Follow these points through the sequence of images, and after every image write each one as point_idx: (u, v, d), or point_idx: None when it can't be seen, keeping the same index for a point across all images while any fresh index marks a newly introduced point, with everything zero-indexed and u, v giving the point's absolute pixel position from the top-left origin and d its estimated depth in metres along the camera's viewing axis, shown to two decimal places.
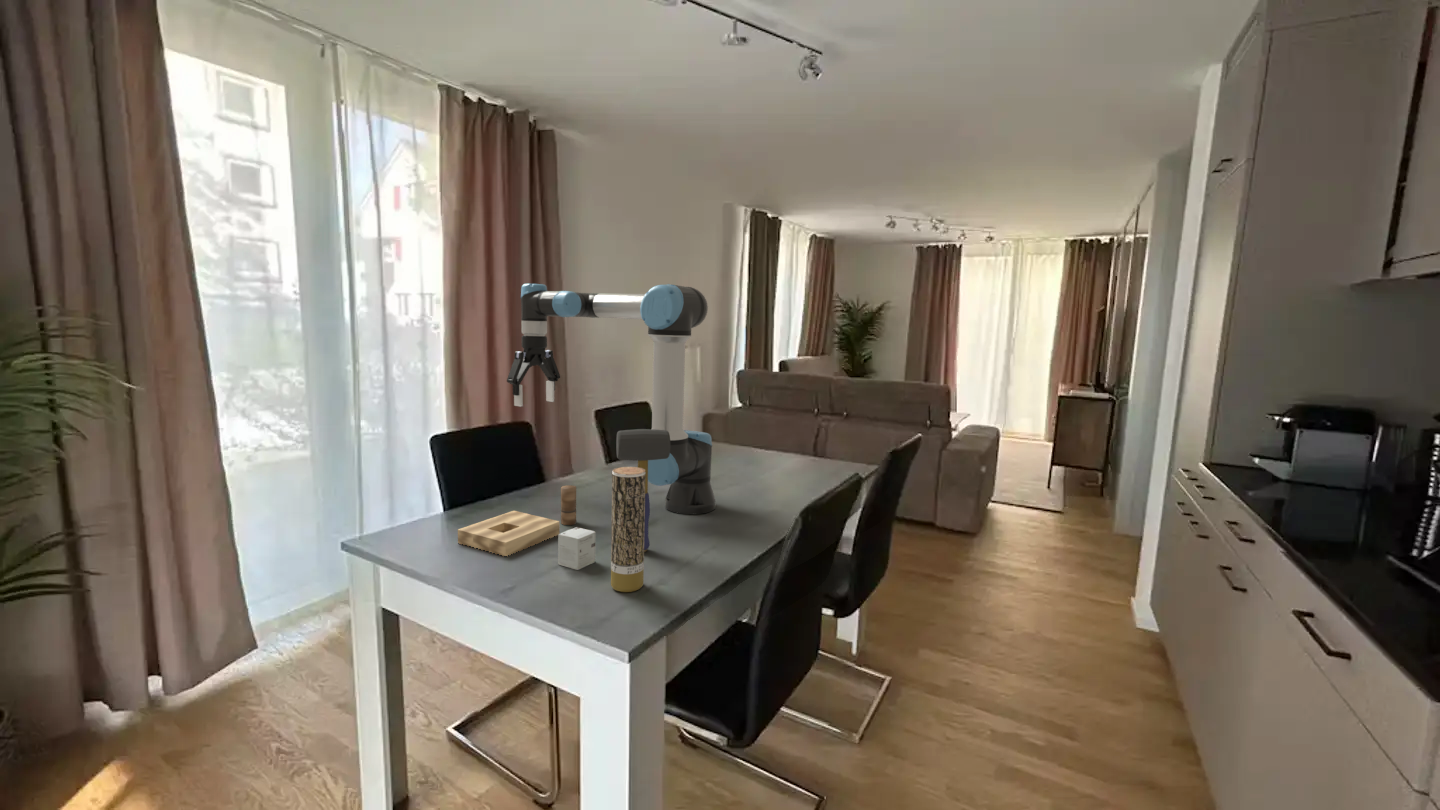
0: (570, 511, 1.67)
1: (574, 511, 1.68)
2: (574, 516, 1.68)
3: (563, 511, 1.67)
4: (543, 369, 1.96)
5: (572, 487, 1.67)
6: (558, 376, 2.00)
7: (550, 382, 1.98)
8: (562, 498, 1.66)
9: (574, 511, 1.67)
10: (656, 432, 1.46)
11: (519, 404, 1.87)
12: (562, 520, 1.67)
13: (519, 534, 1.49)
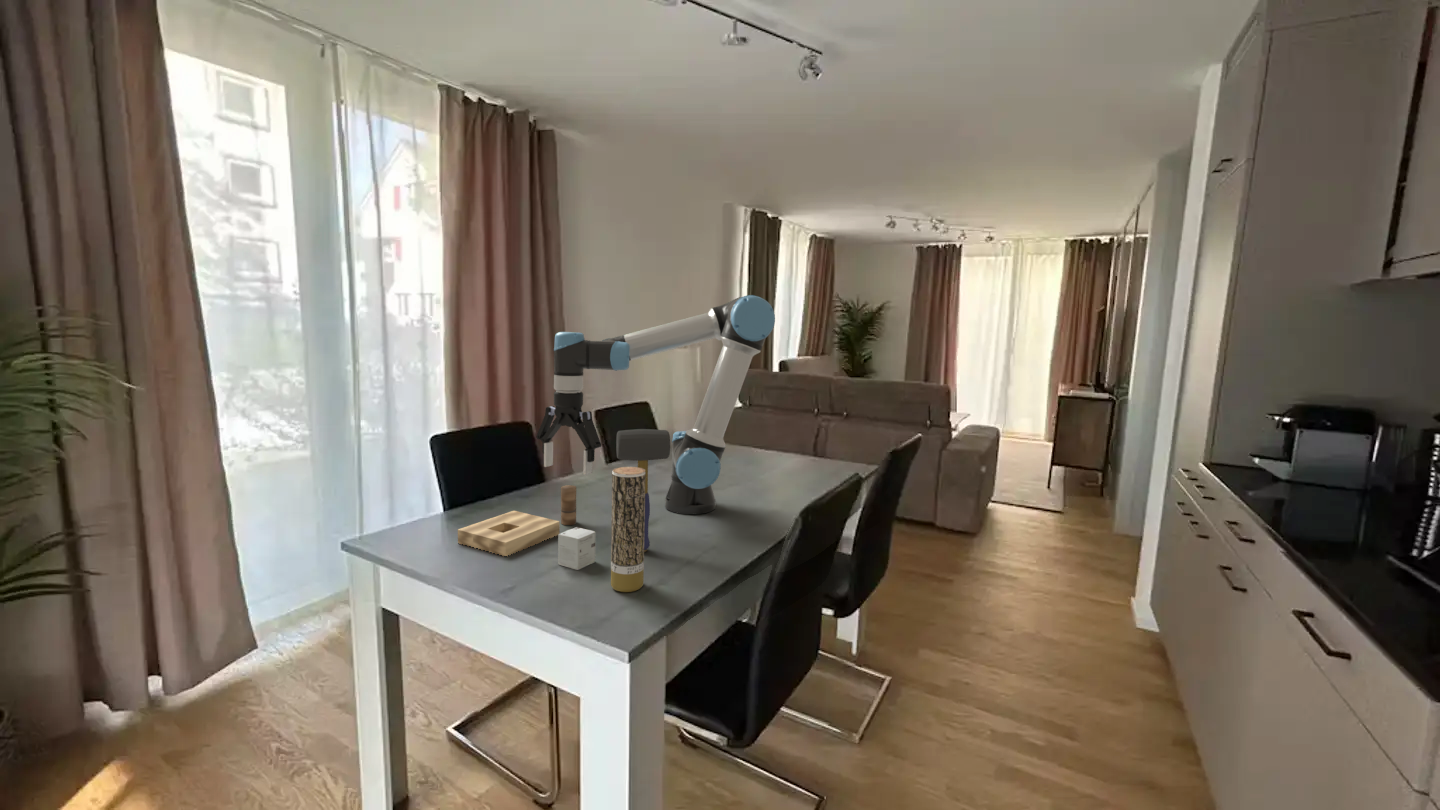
0: (570, 511, 1.67)
1: (574, 511, 1.68)
2: (574, 516, 1.68)
3: (563, 511, 1.67)
4: None
5: (572, 487, 1.67)
6: (592, 445, 1.60)
7: None
8: (562, 498, 1.66)
9: (574, 511, 1.67)
10: (656, 432, 1.46)
11: None
12: (562, 520, 1.67)
13: (519, 534, 1.49)
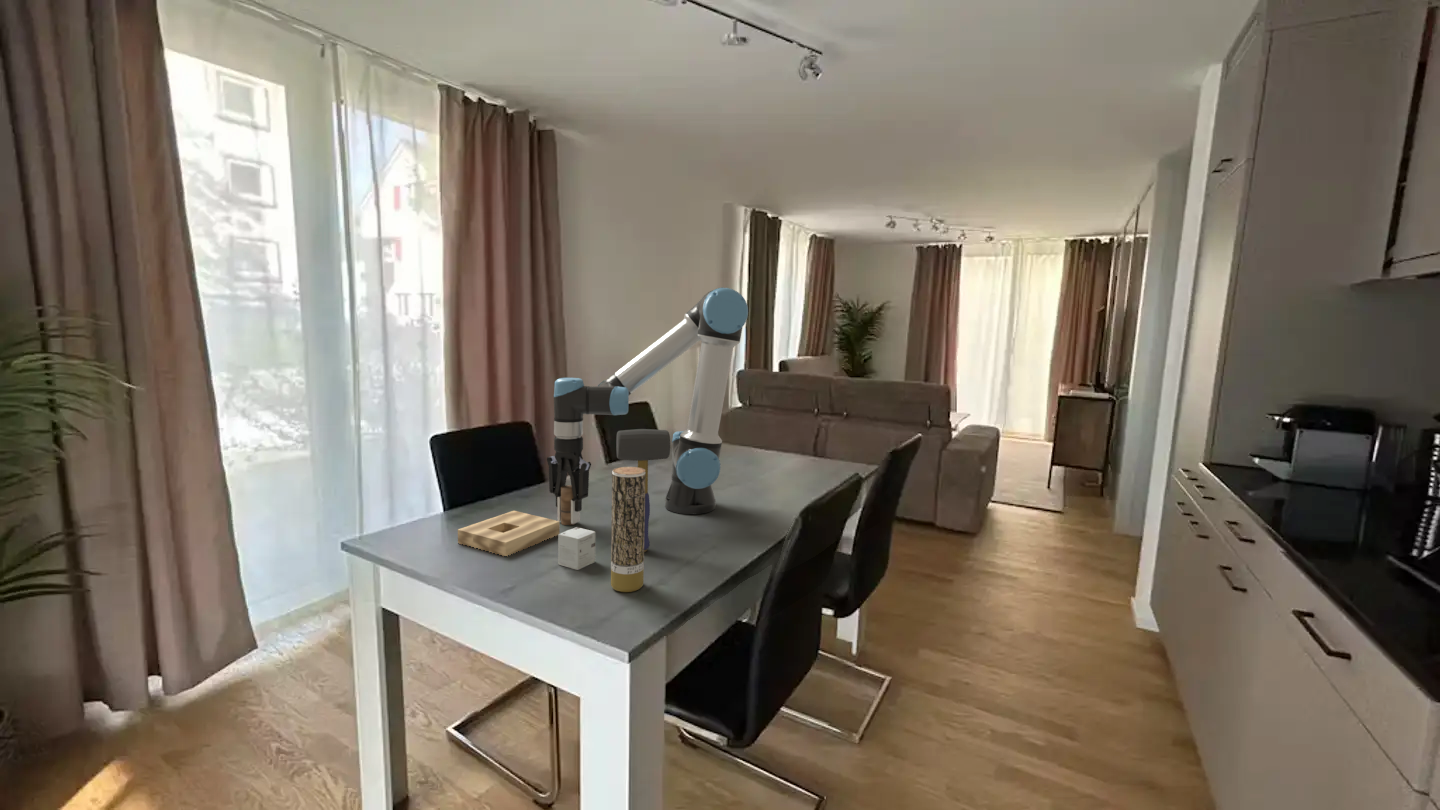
0: (570, 511, 1.67)
1: None
2: None
3: (563, 511, 1.67)
4: None
5: None
6: (579, 496, 1.64)
7: None
8: (562, 498, 1.66)
9: None
10: (656, 432, 1.46)
11: None
12: (562, 520, 1.67)
13: (519, 534, 1.49)
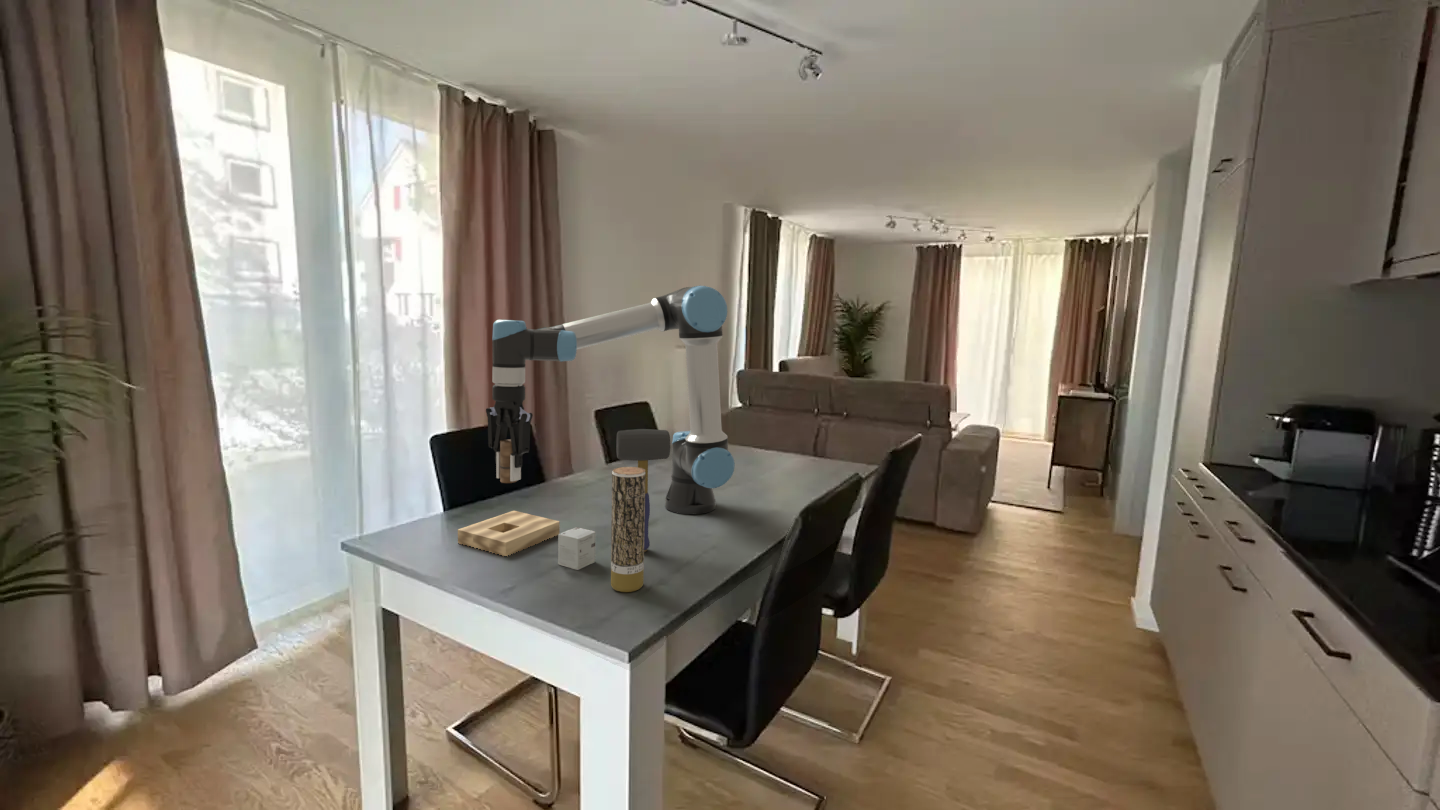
0: (509, 467, 1.51)
1: None
2: None
3: (502, 467, 1.51)
4: None
5: None
6: (519, 450, 1.49)
7: None
8: (501, 452, 1.51)
9: None
10: (657, 432, 1.46)
11: None
12: (501, 477, 1.52)
13: (519, 534, 1.49)
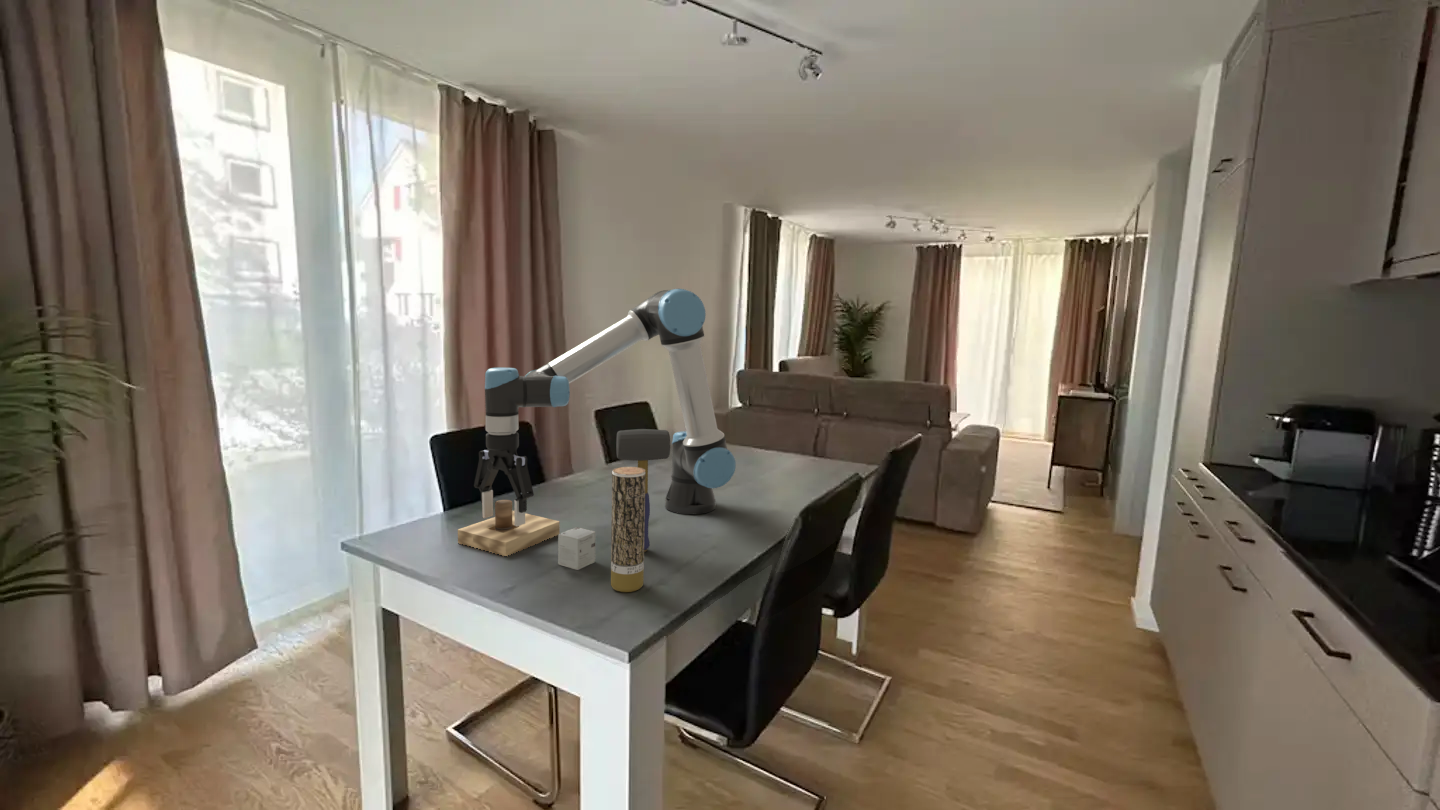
0: (505, 528, 1.52)
1: (509, 528, 1.53)
2: None
3: (497, 528, 1.52)
4: None
5: (507, 502, 1.53)
6: (523, 495, 1.47)
7: None
8: (496, 514, 1.52)
9: (509, 529, 1.53)
10: (656, 432, 1.46)
11: None
12: None
13: (519, 534, 1.49)
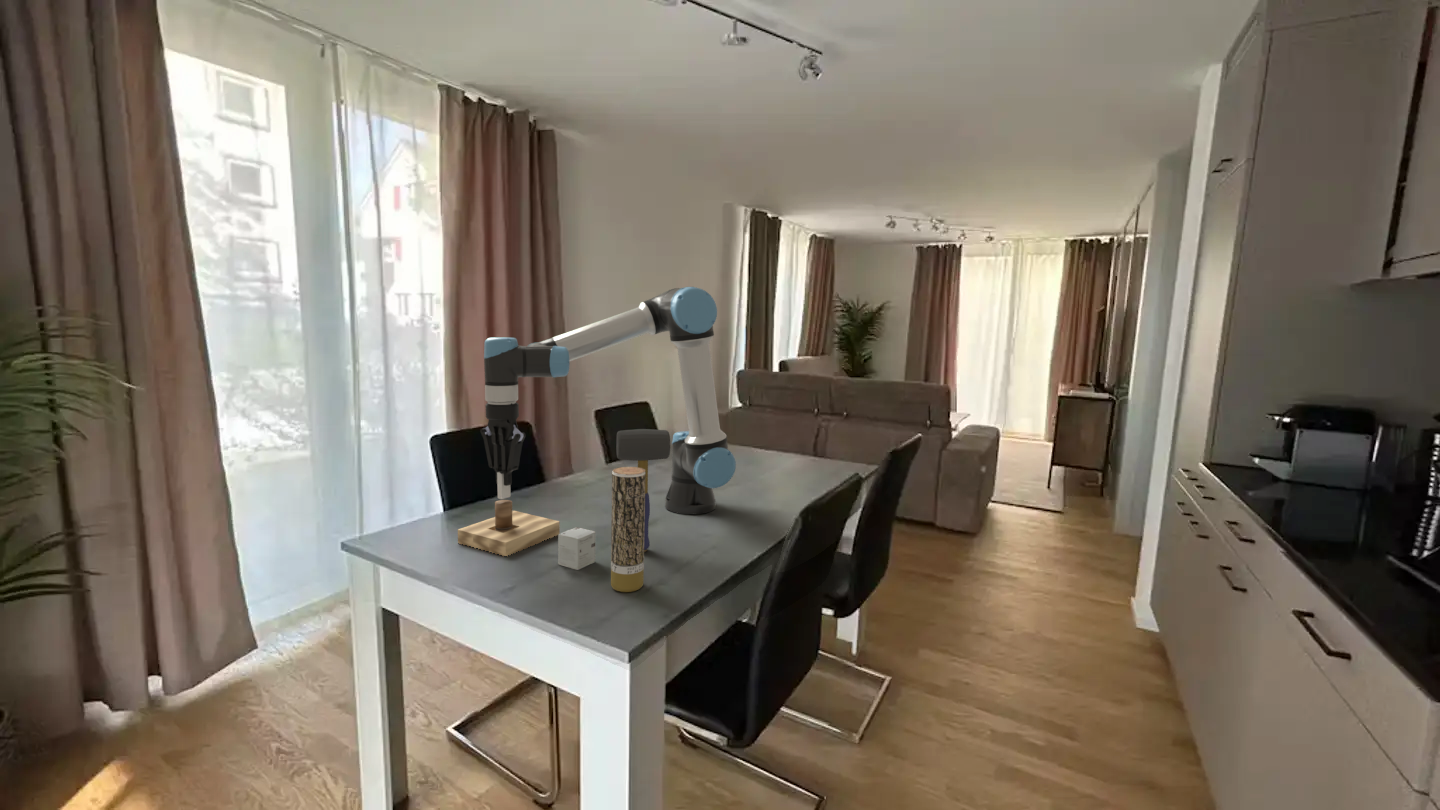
0: (505, 528, 1.52)
1: (509, 528, 1.53)
2: None
3: (497, 528, 1.52)
4: None
5: (507, 502, 1.53)
6: (508, 468, 1.49)
7: None
8: (496, 514, 1.52)
9: (509, 529, 1.53)
10: (656, 432, 1.46)
11: None
12: None
13: (519, 534, 1.49)
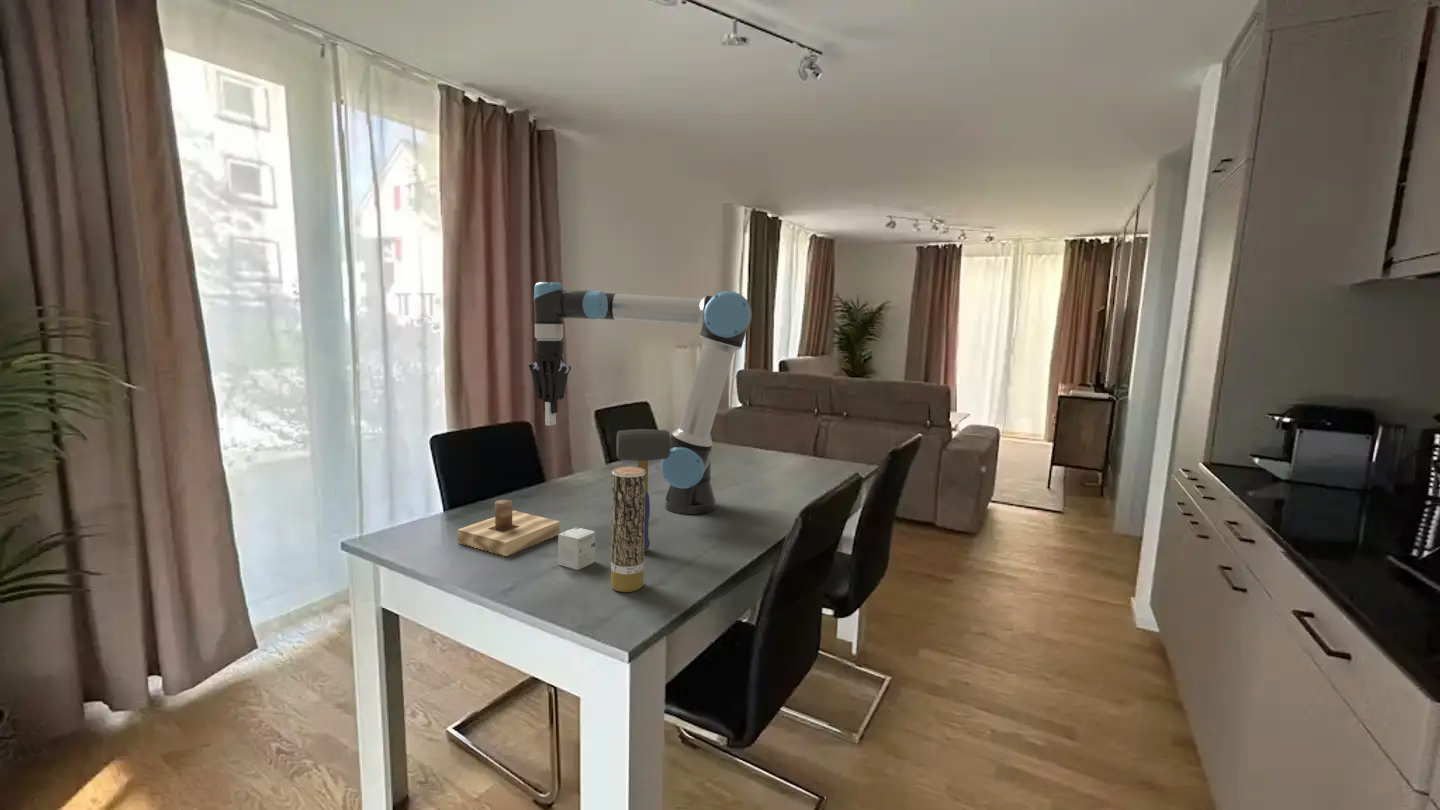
0: (505, 528, 1.52)
1: (509, 528, 1.53)
2: None
3: (497, 528, 1.52)
4: None
5: (507, 502, 1.53)
6: (555, 397, 1.70)
7: None
8: (496, 514, 1.52)
9: (509, 529, 1.53)
10: (656, 432, 1.46)
11: None
12: None
13: (519, 534, 1.49)
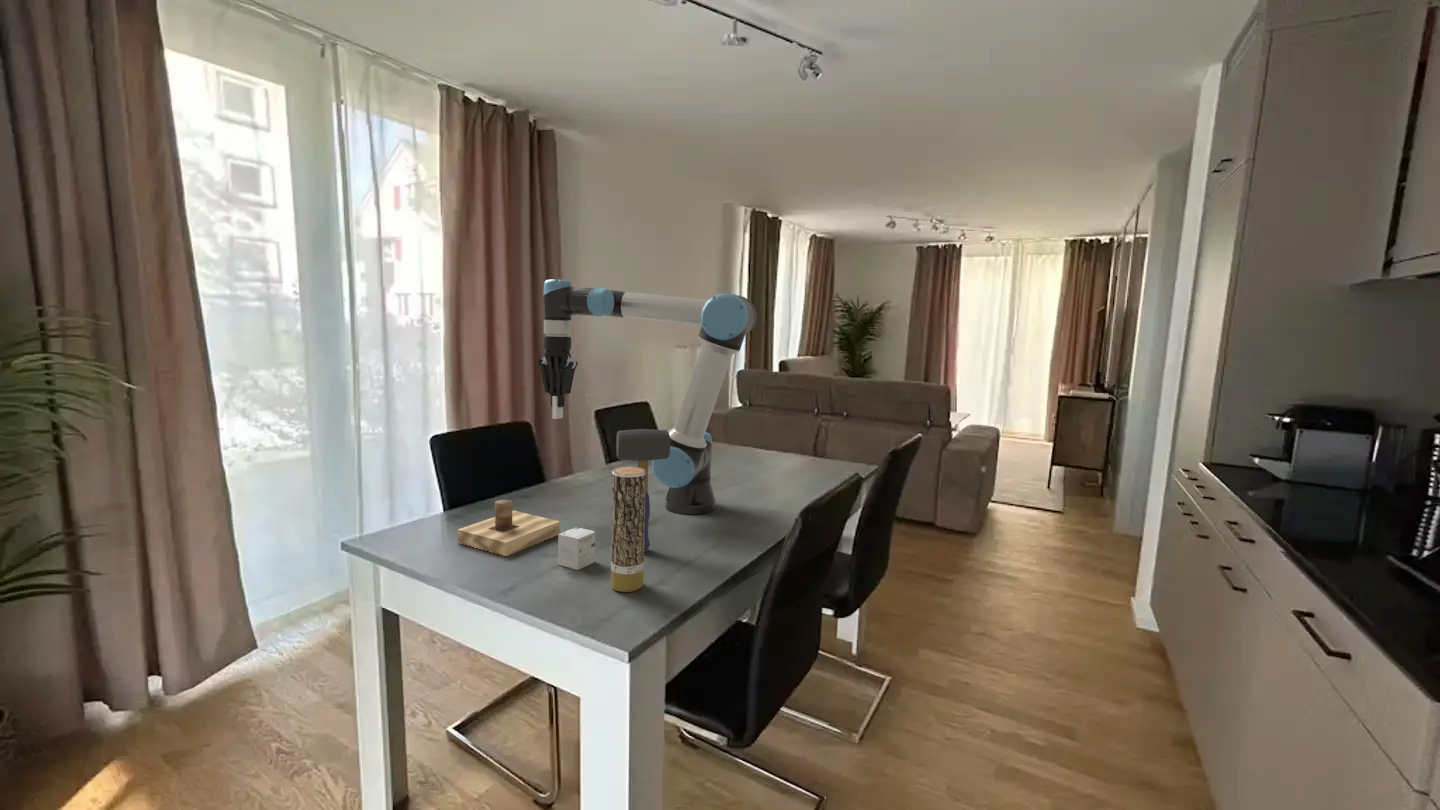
0: (505, 528, 1.52)
1: (509, 528, 1.53)
2: None
3: (497, 528, 1.52)
4: None
5: (507, 502, 1.53)
6: (562, 391, 1.75)
7: None
8: (496, 514, 1.52)
9: (509, 529, 1.53)
10: (656, 432, 1.46)
11: None
12: None
13: (519, 534, 1.49)
